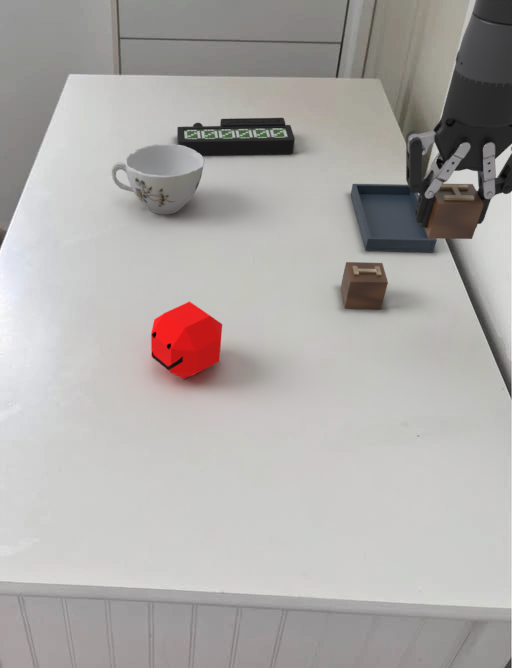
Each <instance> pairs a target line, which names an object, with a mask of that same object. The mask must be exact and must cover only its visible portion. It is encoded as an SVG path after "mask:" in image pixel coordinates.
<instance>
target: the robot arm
mask: <svg viewBox="0 0 512 668" xmlns="http://www.w3.org/2000/svg"><path fill="white" fill-rule="evenodd" d="M455 57H456V58H455V65H454V69H453V71H452V72H453V73H452V76H451V80H450V84H449V87H448V91H447V94H446V99H445V102H444V105H443V108H442V109H443V110H442V114H441V118H440V120H439V121H438V123H437V124H436V125H435V127H434V128H433V130H429V131H426V132H425V131H424V132H421V133H418V132H417V131H416V130H411V131H409V132H408V133H407V134H406V137H405V139H406V140H405V171H406V172H405V180H406V183H407V185H408V186H409V188H410V191H411V192H412V193H418V195H419V198H418V201H417V205H416V209H415V212H414V214H415V219H416V221H417V223H419V226H420V228H427V226H428V223H429V219H430V216H431V212H432V209H433V205H434V202H435V197H434V196H435V195H436V193H437V192H438V190H439V189H440V187H441V186H442V184H445V183H446V182H448V181H449V179H450V178H451V176H452V175H453V173H454V172H461V171H464V170H469V171H472V172H477V183H478V189H477V190H476V191H477V193H478V195H479V197H480V198H481V200H482V202H483V204H484V205H483V208H482V211H481V214H480V217H479V220H478V223H477V226H476V228H477V227H478V225H481V224H482V223H483V222H484V221H485V217H486V215H487V211H488V209H489V206H490V203H491V200H492V199H493V198H494V197H495V196H497V195H499V194H504V195H507V194H510V193H512V0H475V1H474V5H473V8H472V12H471V15H470V18H469V21H468V23H467V26H466V28H465V31H464V34H463V35H462V39H461V43H460V46H459V49H458V51H457V53H456V56H455ZM433 144H435V146H436V149H437V151H438V152H437V154H436V156H435V157H434V158H433V161H432V162H431V165H430V168H429V170H428V171H427V172H426V174H425V176H424V177H423V173H422V172H423V171H422V170H423V156H425V155H426V154H427V153H428V151H429V147H430V146H431V145H433ZM510 146H511V147H510ZM509 147H510V151H511V153H510V155H509V157H508V159H507V160H506V162H505V164H503V166H502V168H501V171H500V172H499V174H498V175H497V172H496V169H497V168H496V159H498V158H499V157H500V155H502V154H503V153H504V152H505V151H506V150H507V149H508V148H509Z"/></svg>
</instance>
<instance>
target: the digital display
mask: <svg viewBox="0 0 512 668" xmlns="http://www.w3.org/2000/svg"><path fill="white" fill-rule="evenodd" d="M176 127H177V128H176V129H177V132H176V133H177V134H176V135H177V136H176V137H177V139H176V140H177V145H182V146H186V147H188V148H191V149H193V150H195V151H196V152H197V153H200V154H201V155H202V157H203V156H204V157H206V156H207V157H208V156H209V157H211V156H257V155H258V156H261V155H264V156H265V155H292V154H293V153H294V147H295V140H296V138H295V135H294V131H293V129H292V126H291V124H286V121H285V118H284V117H244V118H242V117H240V118H239V117H238V118H236V117H235V118H221V119H220V125H204V124H202V123H200V122H195V123H194V124H193V125H192V126H176Z"/></svg>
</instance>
